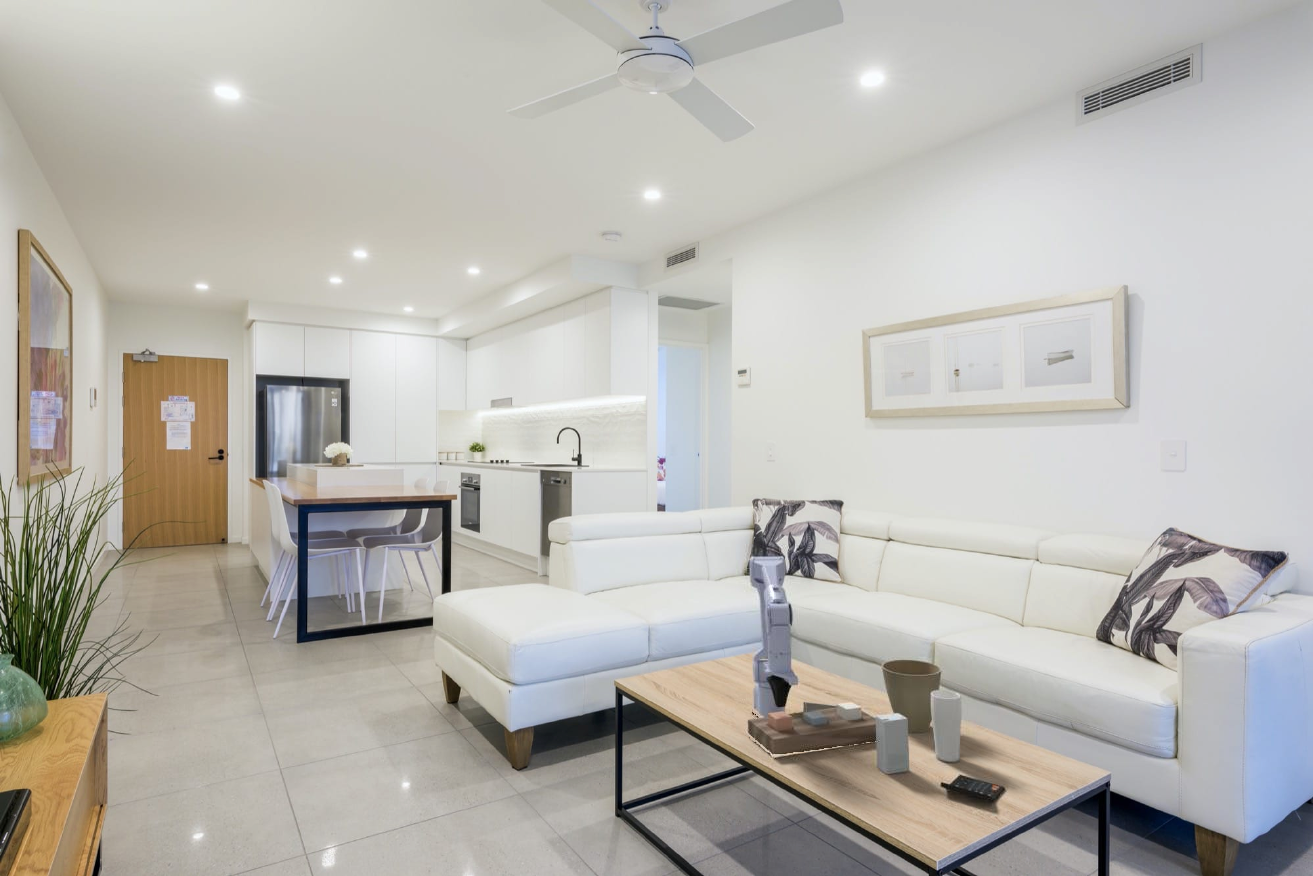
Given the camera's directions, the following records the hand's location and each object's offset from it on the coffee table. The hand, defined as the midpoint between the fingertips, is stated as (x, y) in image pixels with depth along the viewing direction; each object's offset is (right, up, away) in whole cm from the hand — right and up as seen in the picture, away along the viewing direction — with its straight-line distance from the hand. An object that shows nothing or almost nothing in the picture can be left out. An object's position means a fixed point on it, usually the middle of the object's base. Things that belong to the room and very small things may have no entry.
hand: (780, 706), depth 178 cm
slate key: (+9, -7, +3) cm, 12 cm away
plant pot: (+37, -10, +10) cm, 39 cm away
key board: (+9, -9, +3) cm, 14 cm away
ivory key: (+19, -6, +6) cm, 20 cm away
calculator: (+36, -9, -27) cm, 46 cm away
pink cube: (0, -6, 0) cm, 6 cm away
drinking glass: (+38, -9, -10) cm, 40 cm away
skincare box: (+23, -9, -16) cm, 29 cm away
